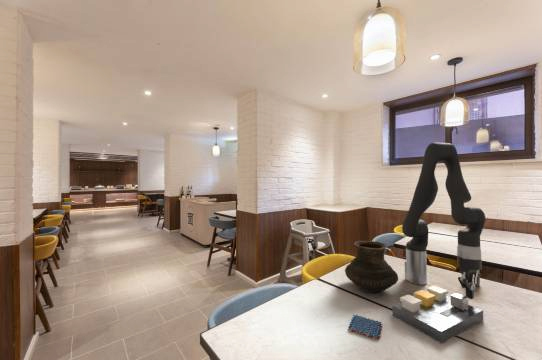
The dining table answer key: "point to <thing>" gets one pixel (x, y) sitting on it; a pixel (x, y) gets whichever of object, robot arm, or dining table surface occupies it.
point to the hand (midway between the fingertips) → (469, 298)
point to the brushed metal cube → (459, 301)
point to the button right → (438, 292)
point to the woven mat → (366, 327)
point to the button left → (411, 303)
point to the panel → (439, 319)
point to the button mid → (425, 297)
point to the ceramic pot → (371, 268)
